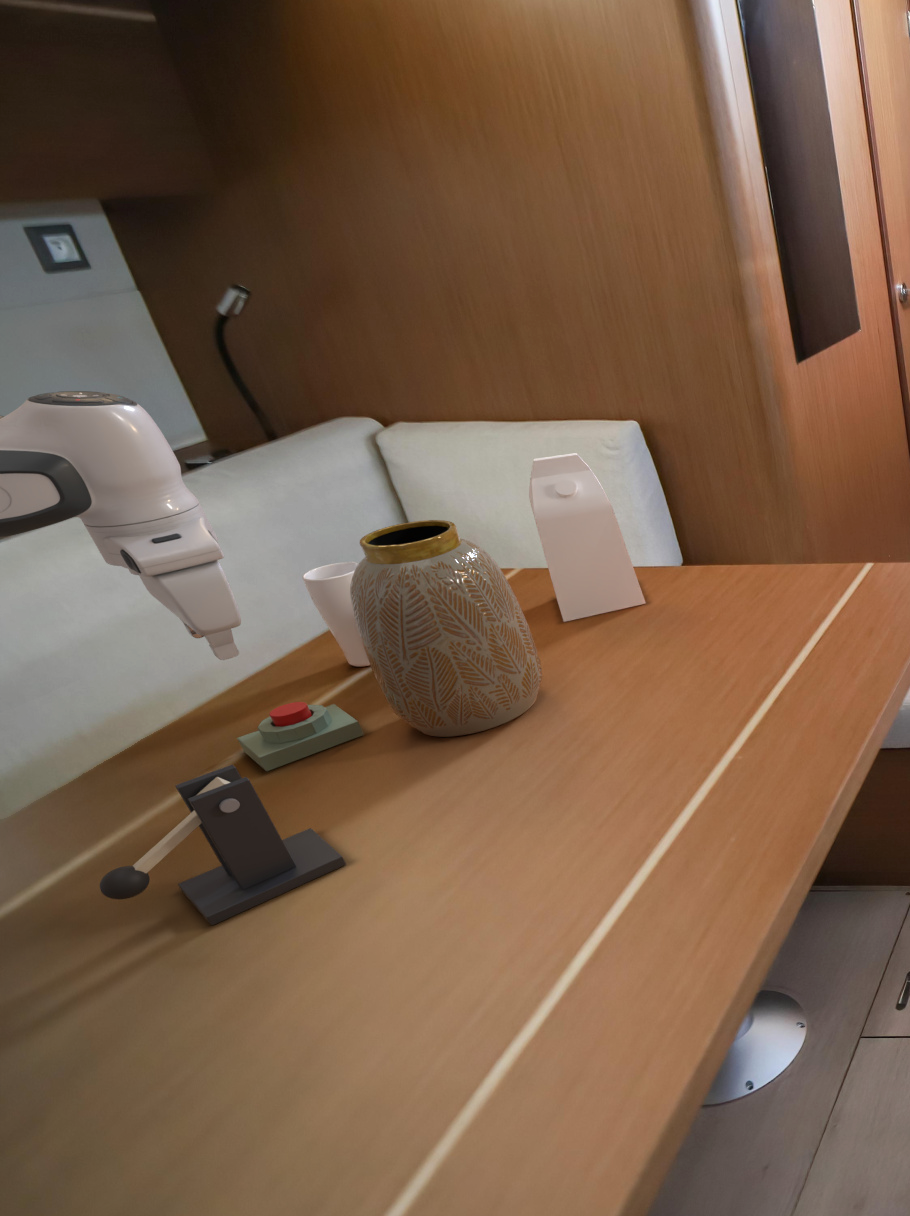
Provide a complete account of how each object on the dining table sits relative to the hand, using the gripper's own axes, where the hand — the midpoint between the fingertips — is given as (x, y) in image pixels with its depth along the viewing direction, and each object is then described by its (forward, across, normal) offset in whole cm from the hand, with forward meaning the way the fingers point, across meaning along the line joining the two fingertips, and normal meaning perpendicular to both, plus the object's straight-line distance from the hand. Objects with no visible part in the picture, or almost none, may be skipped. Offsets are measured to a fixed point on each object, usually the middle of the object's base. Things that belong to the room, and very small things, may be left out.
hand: (215, 645), depth 112 cm
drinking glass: (+19, -27, +18) cm, 37 cm away
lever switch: (+11, +23, -11) cm, 28 cm away
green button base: (+18, -6, +4) cm, 20 cm away
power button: (+15, -6, +4) cm, 17 cm away
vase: (+19, +3, +20) cm, 28 cm away
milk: (+19, -20, +48) cm, 55 cm away
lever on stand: (+18, +23, -8) cm, 30 cm away
